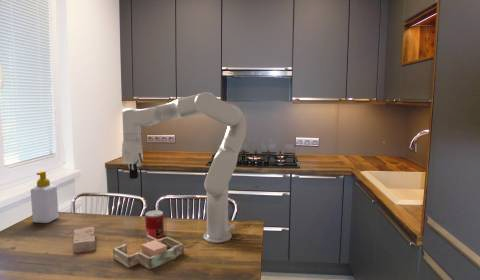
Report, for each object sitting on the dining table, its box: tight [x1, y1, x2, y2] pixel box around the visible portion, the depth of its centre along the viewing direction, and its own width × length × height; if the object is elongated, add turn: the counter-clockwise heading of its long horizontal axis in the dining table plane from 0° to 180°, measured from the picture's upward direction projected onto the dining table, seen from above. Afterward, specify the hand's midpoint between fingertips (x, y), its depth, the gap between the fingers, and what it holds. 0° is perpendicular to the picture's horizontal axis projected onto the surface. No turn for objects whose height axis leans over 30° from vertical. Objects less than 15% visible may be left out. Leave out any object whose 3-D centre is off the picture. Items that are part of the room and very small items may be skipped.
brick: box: [72, 226, 96, 254], centre depth 154 cm, size 17×8×5 cm, turn 23°
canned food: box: [144, 209, 165, 240], centre depth 161 cm, size 8×8×11 cm
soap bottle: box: [30, 170, 60, 224], centre depth 180 cm, size 9×9×25 cm
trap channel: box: [112, 235, 185, 270], centre depth 143 cm, size 22×19×4 cm
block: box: [141, 240, 167, 257], centre depth 139 cm, size 6×8×6 cm
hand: (133, 178), depth 158 cm, fingers closed
